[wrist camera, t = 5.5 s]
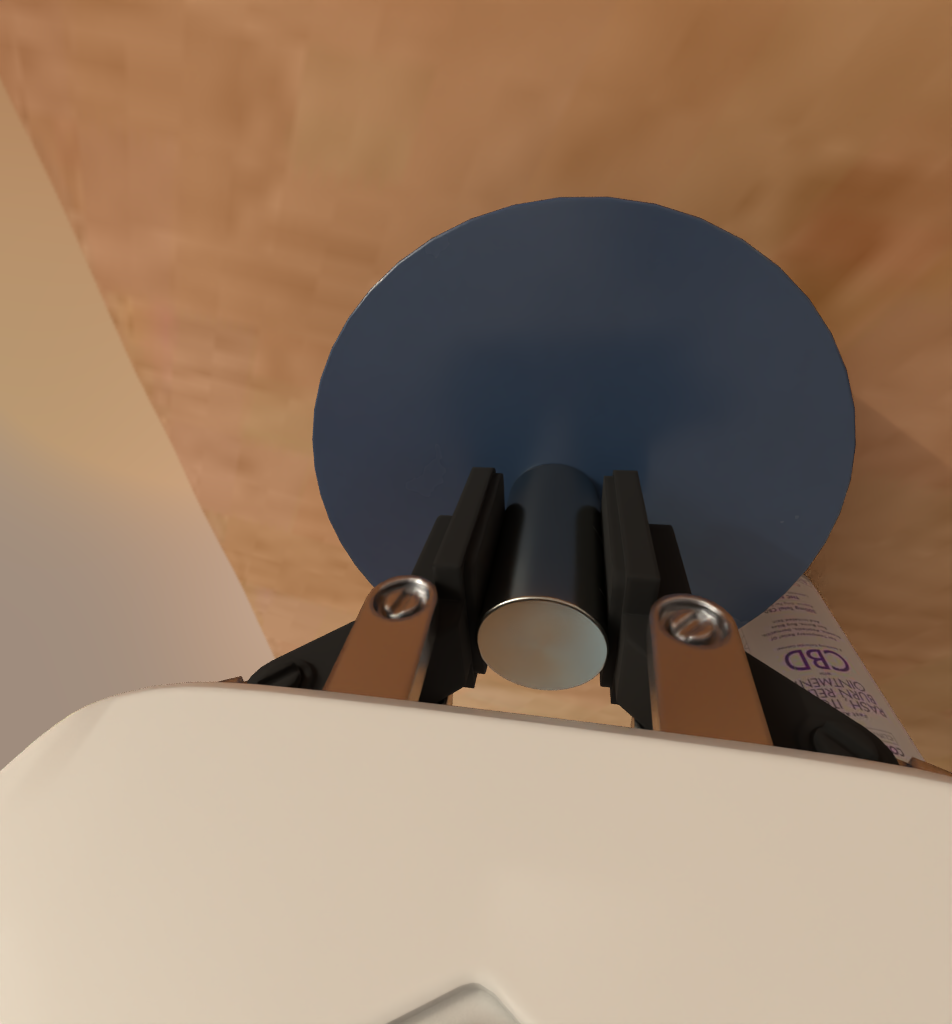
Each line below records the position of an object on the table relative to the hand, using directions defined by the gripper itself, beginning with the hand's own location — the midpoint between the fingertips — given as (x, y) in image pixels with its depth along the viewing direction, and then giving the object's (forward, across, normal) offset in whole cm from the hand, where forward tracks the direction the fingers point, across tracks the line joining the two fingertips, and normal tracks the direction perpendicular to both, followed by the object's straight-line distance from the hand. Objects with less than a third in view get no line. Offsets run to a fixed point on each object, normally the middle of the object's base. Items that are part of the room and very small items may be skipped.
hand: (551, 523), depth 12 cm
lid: (+1, 0, 0) cm, 1 cm away
